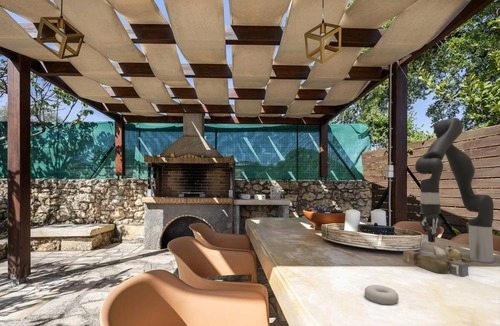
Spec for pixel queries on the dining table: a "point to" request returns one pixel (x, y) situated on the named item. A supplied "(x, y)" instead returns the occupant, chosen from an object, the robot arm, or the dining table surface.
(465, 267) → the charcoal block
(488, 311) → the dining table surface
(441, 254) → the ceramic sculpture
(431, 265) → the stone block
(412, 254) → the cardboard box
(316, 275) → the dining table surface
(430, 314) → the dining table surface
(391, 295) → the donut
